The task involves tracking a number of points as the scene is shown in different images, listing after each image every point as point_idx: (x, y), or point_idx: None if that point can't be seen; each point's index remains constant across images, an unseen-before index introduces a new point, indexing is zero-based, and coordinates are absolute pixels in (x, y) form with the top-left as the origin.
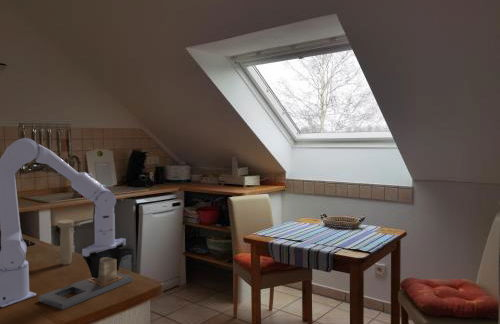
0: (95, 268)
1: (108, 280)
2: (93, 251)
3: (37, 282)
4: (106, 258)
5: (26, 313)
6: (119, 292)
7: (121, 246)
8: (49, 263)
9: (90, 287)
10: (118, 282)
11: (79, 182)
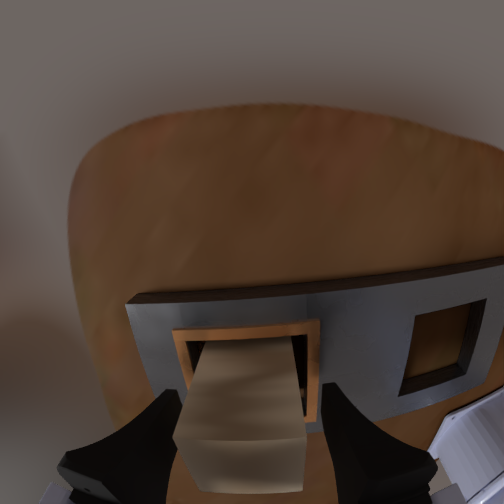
0: (368, 419)
1: (263, 351)
2: None
3: None
4: (219, 480)
5: None
6: (283, 214)
7: (84, 494)
8: None
9: (376, 343)
10: (229, 299)
11: None
